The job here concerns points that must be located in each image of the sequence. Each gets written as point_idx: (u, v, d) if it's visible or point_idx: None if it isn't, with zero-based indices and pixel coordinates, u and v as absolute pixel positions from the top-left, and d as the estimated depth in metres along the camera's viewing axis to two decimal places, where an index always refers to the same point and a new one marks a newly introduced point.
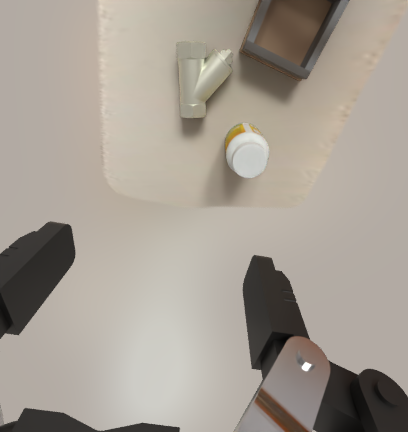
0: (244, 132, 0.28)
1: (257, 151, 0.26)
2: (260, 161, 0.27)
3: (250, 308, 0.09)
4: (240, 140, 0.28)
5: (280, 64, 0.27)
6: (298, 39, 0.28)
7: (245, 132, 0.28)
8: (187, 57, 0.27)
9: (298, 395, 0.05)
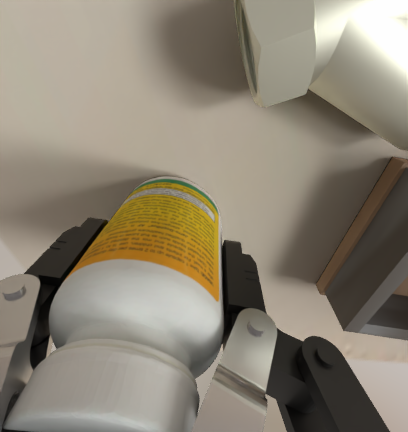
0: (216, 301, 0.07)
1: None
2: None
3: None
4: (185, 322, 0.06)
5: (384, 284, 0.10)
6: None
7: (217, 306, 0.07)
8: None
9: (252, 361, 0.06)
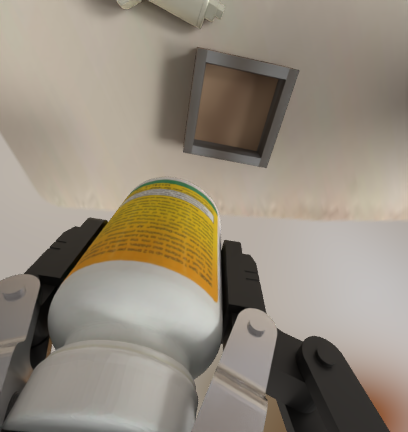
0: (215, 302, 0.07)
1: None
2: None
3: None
4: (184, 323, 0.06)
5: (190, 111, 0.20)
6: (222, 127, 0.23)
7: (216, 306, 0.07)
8: None
9: (252, 361, 0.06)
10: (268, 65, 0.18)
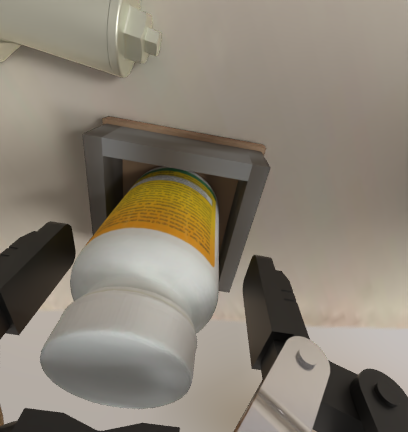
0: (212, 266, 0.08)
1: (169, 389, 0.06)
2: (135, 398, 0.07)
3: (250, 308, 0.09)
4: (185, 278, 0.07)
5: (94, 223, 0.12)
6: None
7: (213, 270, 0.08)
8: None
9: (298, 395, 0.05)
10: (213, 160, 0.10)
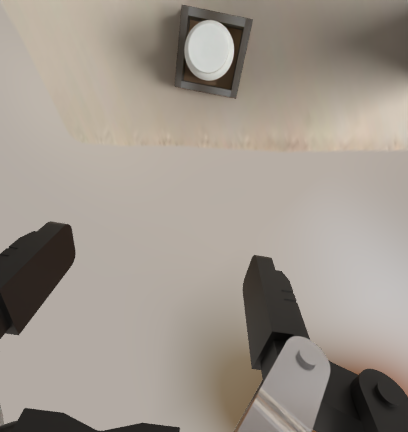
0: None
1: (221, 54, 0.23)
2: (211, 63, 0.23)
3: (250, 308, 0.09)
4: (225, 33, 0.24)
5: (178, 53, 0.29)
6: None
7: (232, 40, 0.25)
8: None
9: (299, 396, 0.05)
10: (231, 16, 0.27)
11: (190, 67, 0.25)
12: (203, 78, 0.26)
